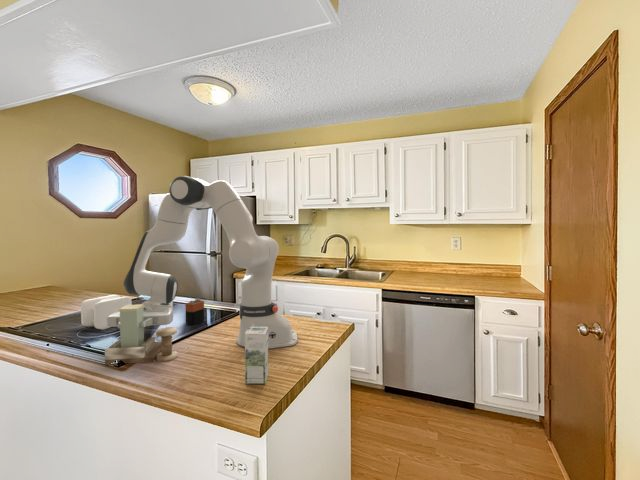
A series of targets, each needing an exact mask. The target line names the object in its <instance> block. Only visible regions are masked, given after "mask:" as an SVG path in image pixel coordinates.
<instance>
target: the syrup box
mask: <svg viewBox="0 0 640 480" xmlns="http://www.w3.org/2000/svg"><path fill="white" fill-rule="evenodd" d="M268 375H269V349H268V327H248V329H247V330H246V333H245V347H244V378H245V382H244V385H266V383H267V379H268Z"/></svg>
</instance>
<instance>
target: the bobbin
mask: <svg viewBox="0 0 640 480" xmlns="http://www.w3.org/2000/svg"><path fill="white" fill-rule="evenodd" d="M177 332H178V330H177V327H173V326H167V327H162V328H159V329H157V330H156V331H155V336H156V337H160V338H161V341H160V342H161V344H162V352H161V353H159V354H157V359H156V361H157V362H170V361H172V360H174V359H176V358H177V357H178V352H177V350H174V349H173V342H172V341H173V339H172V336H174V335H176V334H177Z"/></svg>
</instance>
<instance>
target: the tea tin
mask: <svg viewBox="0 0 640 480" xmlns="http://www.w3.org/2000/svg"><path fill="white" fill-rule="evenodd" d="M143 307H144V304H141V303H140V304H139V303H138V304H132V305H126V306H124V307H122V308H120V309H119V312H120V328H119V331H120V332H119V333H120V334H119V335H120V336H119V337H120V338H119V339H121V348H125V347H140V346H141V345H142V344H143V343H144V342H145V327H144V328H139V326H140V325H139V323H140V322H141V321H144V316H143Z"/></svg>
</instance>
